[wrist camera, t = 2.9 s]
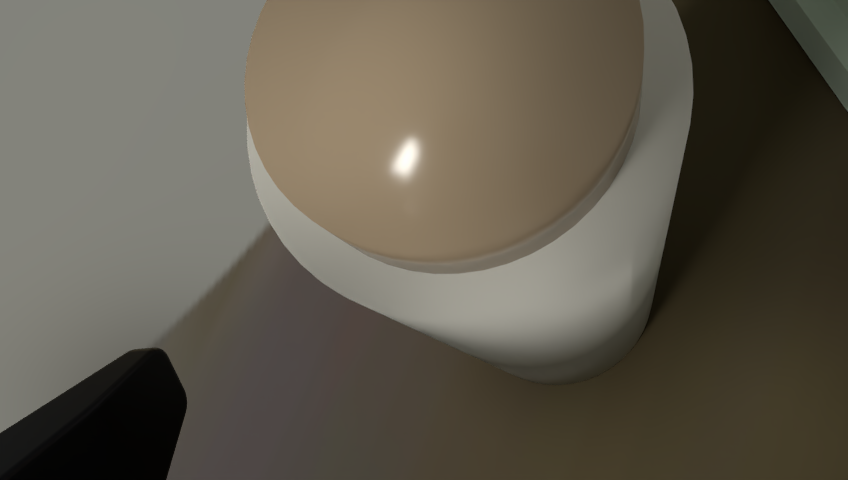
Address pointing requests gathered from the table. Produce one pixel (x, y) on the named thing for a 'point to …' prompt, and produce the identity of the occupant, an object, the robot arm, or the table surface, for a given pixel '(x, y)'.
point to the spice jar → (477, 165)
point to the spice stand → (821, 37)
